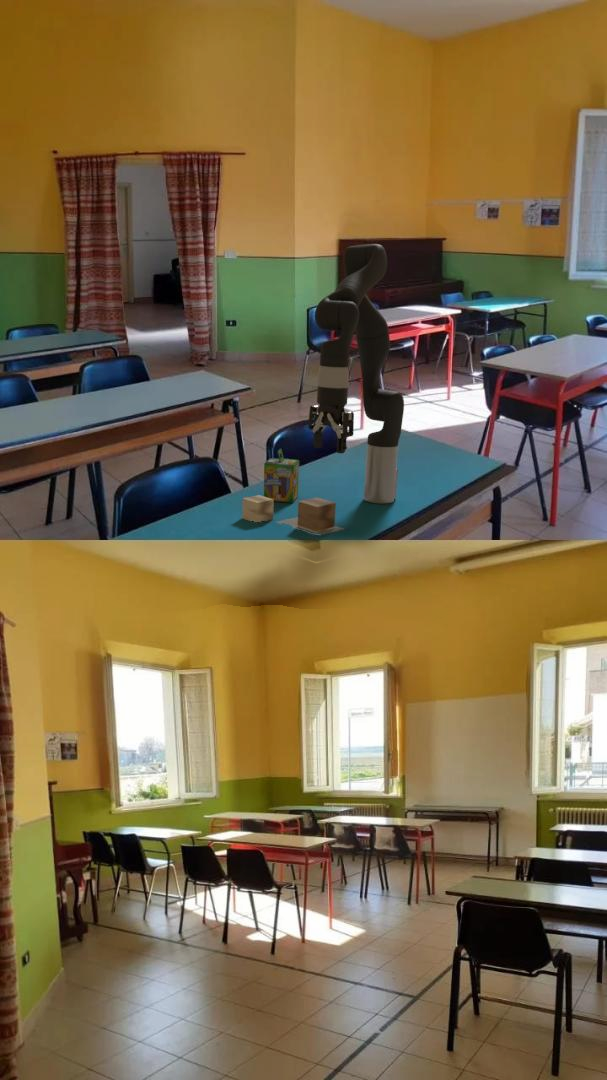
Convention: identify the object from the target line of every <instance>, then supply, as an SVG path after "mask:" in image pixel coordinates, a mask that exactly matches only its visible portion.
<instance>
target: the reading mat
mask: <svg viewBox="0 0 607 1080" xmlns="http://www.w3.org/2000/svg"><path fill="white" fill-rule="evenodd" d="M276 522H277V523H276V524H278V523H279V524H278V525H281V524H282V523H285V524H289V525H291V526H292V527H293V528H292V529H294V528H295V529H294V530H296V528H298V529H299V530H305V531H307V532H310V533H313V534H314V533H315V532H312V531H309V530H306V529H303V528H300V527H297V524H298V516H296V517H290V518H287V519H283V520H282V519H281V520H278V521H276ZM299 530H298V531H299ZM341 530H345V528H343V527H340V526H336V525H335V527H334V528H333V529H329V530H325V531H321V532H317V533H315V534H323V535H326V534H330V533H334V532H338V531H341Z"/></svg>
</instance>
